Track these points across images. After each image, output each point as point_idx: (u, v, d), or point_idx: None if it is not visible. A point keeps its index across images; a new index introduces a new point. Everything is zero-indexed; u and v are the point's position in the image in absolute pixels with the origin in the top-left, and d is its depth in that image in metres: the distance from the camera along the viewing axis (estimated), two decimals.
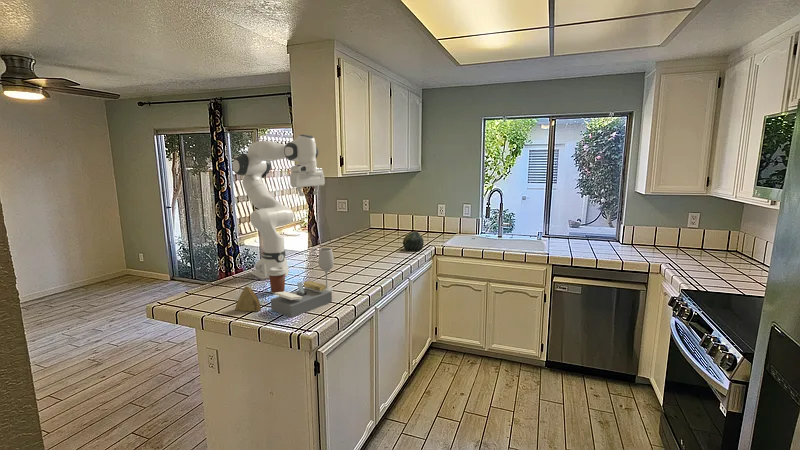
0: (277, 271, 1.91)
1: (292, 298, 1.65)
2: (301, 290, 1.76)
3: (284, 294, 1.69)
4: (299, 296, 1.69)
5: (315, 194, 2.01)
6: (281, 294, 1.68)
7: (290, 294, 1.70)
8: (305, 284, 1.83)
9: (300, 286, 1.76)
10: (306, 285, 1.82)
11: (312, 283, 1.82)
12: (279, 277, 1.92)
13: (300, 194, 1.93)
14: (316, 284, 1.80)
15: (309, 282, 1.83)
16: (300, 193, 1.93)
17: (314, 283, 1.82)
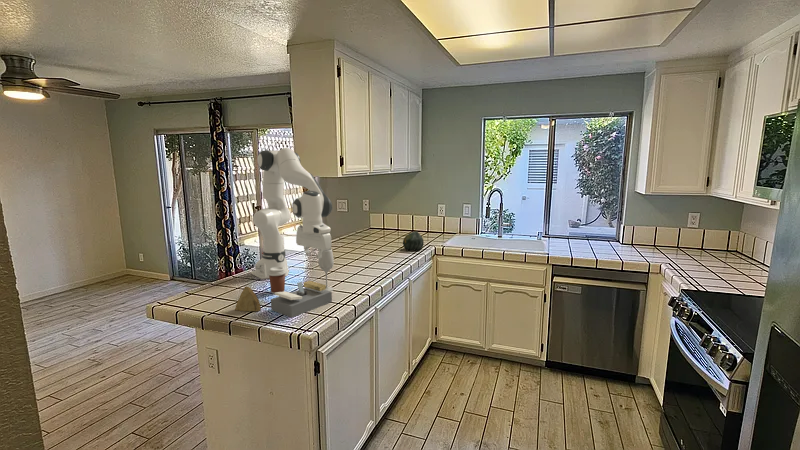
0: (277, 271, 1.91)
1: (292, 298, 1.65)
2: (301, 290, 1.76)
3: (284, 294, 1.69)
4: (299, 296, 1.69)
5: (310, 255, 1.82)
6: (281, 294, 1.68)
7: (290, 294, 1.70)
8: (305, 284, 1.83)
9: (300, 286, 1.76)
10: (306, 285, 1.82)
11: (312, 283, 1.82)
12: (279, 277, 1.92)
13: (320, 256, 1.77)
14: (316, 284, 1.80)
15: (309, 282, 1.83)
16: (320, 255, 1.77)
17: (314, 283, 1.82)
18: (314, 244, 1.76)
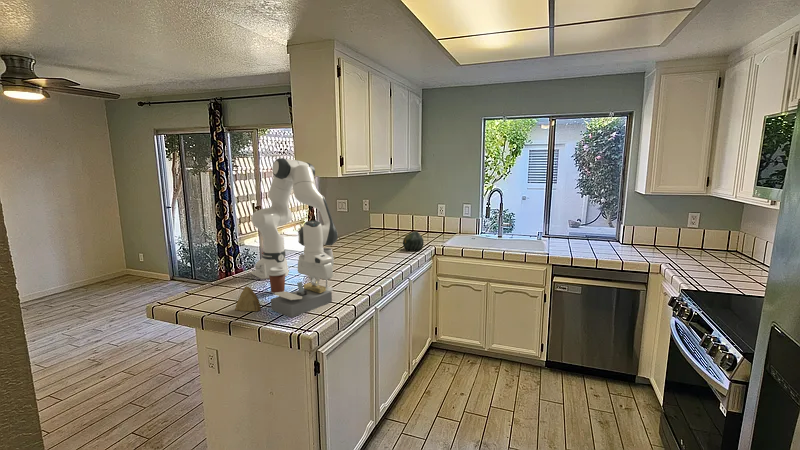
0: (277, 271, 1.91)
1: (292, 298, 1.65)
2: (301, 290, 1.76)
3: (284, 294, 1.69)
4: (299, 296, 1.69)
5: None
6: (281, 294, 1.68)
7: (290, 294, 1.70)
8: (305, 286, 1.83)
9: (300, 286, 1.76)
10: (306, 287, 1.83)
11: (312, 285, 1.82)
12: (279, 277, 1.92)
13: (317, 284, 1.81)
14: (316, 286, 1.80)
15: (309, 284, 1.84)
16: (317, 283, 1.81)
17: None
18: (315, 273, 1.78)
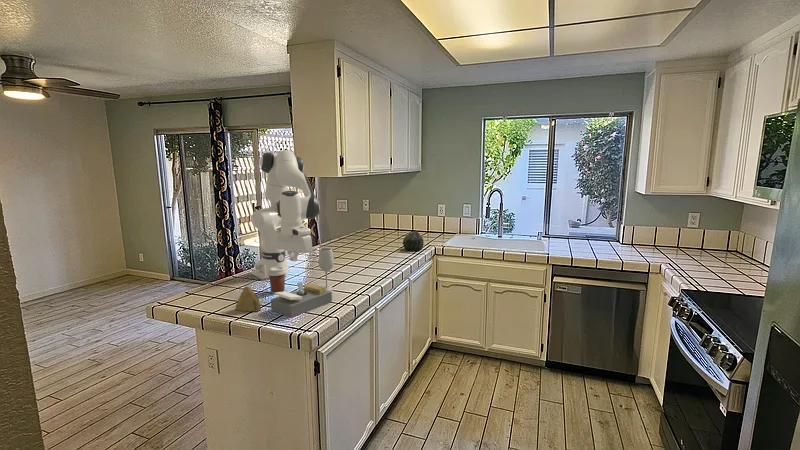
0: (277, 271, 1.91)
1: (292, 298, 1.65)
2: (301, 290, 1.76)
3: (284, 294, 1.69)
4: (299, 296, 1.69)
5: None
6: (281, 294, 1.68)
7: (290, 294, 1.70)
8: (305, 287, 1.83)
9: (300, 286, 1.76)
10: (306, 288, 1.83)
11: (312, 286, 1.82)
12: (279, 277, 1.92)
13: (295, 259, 1.68)
14: (316, 287, 1.81)
15: (309, 285, 1.84)
16: (296, 258, 1.68)
17: (314, 286, 1.82)
18: (293, 247, 1.65)
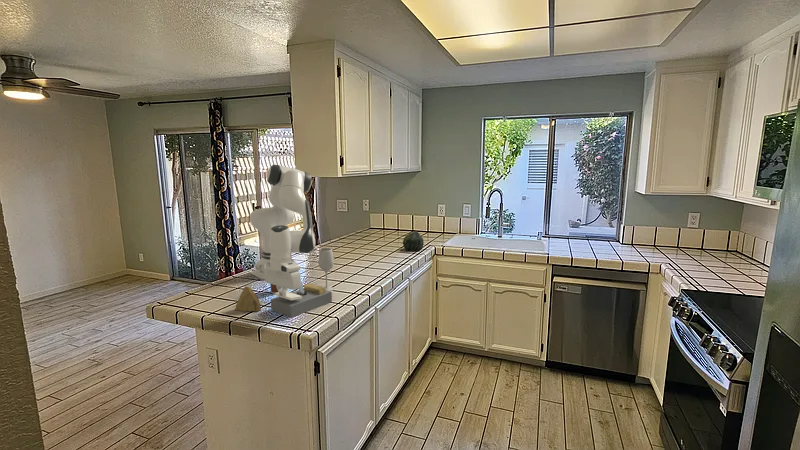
0: None
1: (292, 298, 1.65)
2: (301, 290, 1.76)
3: None
4: (299, 296, 1.69)
5: None
6: None
7: (290, 294, 1.70)
8: (305, 287, 1.83)
9: (300, 286, 1.76)
10: (306, 288, 1.83)
11: (312, 286, 1.82)
12: None
13: (284, 294, 1.66)
14: (316, 287, 1.81)
15: (309, 285, 1.84)
16: (285, 293, 1.66)
17: (314, 286, 1.82)
18: (282, 282, 1.63)
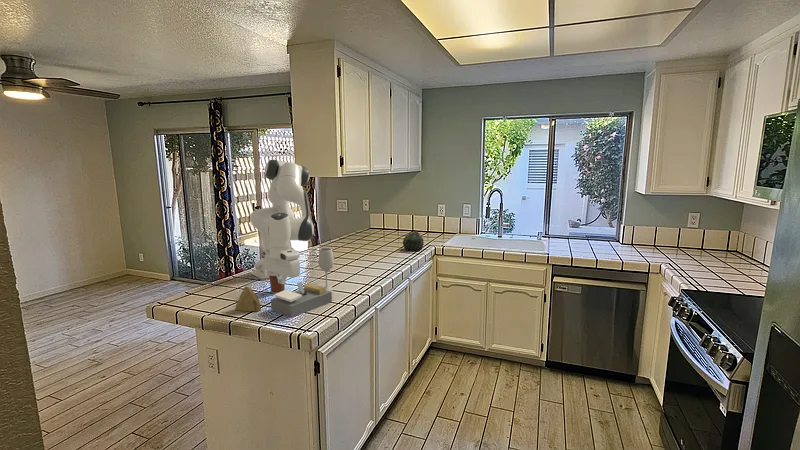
0: None
1: (292, 300, 1.65)
2: (301, 290, 1.76)
3: (283, 295, 1.69)
4: (298, 295, 1.68)
5: None
6: (280, 296, 1.68)
7: (289, 294, 1.70)
8: (305, 287, 1.83)
9: (300, 286, 1.76)
10: (306, 288, 1.83)
11: (312, 286, 1.82)
12: None
13: (284, 282, 1.66)
14: (316, 287, 1.81)
15: (309, 285, 1.84)
16: (284, 281, 1.66)
17: (314, 286, 1.82)
18: (281, 270, 1.63)
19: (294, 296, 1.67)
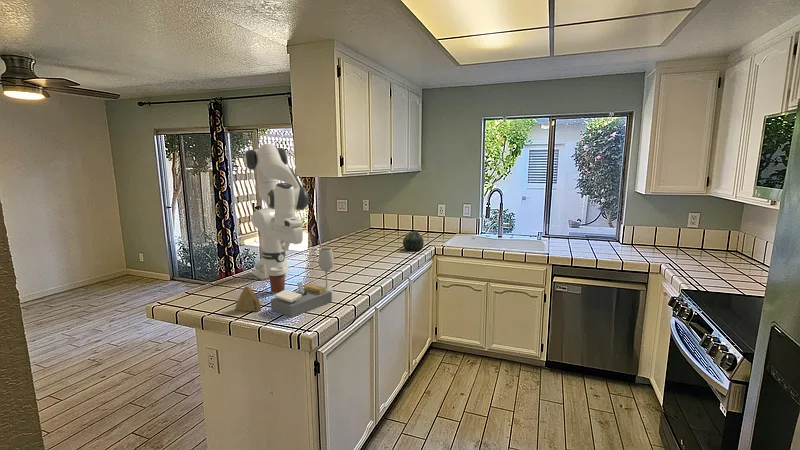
0: (277, 271, 1.91)
1: (292, 300, 1.65)
2: (301, 290, 1.76)
3: (283, 296, 1.69)
4: (298, 295, 1.68)
5: None
6: (280, 297, 1.68)
7: (289, 294, 1.70)
8: (305, 287, 1.83)
9: (300, 286, 1.76)
10: (306, 288, 1.83)
11: (312, 286, 1.82)
12: (279, 277, 1.92)
13: (287, 248, 1.76)
14: (316, 287, 1.81)
15: (309, 285, 1.84)
16: (287, 247, 1.76)
17: (314, 286, 1.82)
18: (285, 237, 1.73)
19: (294, 296, 1.67)
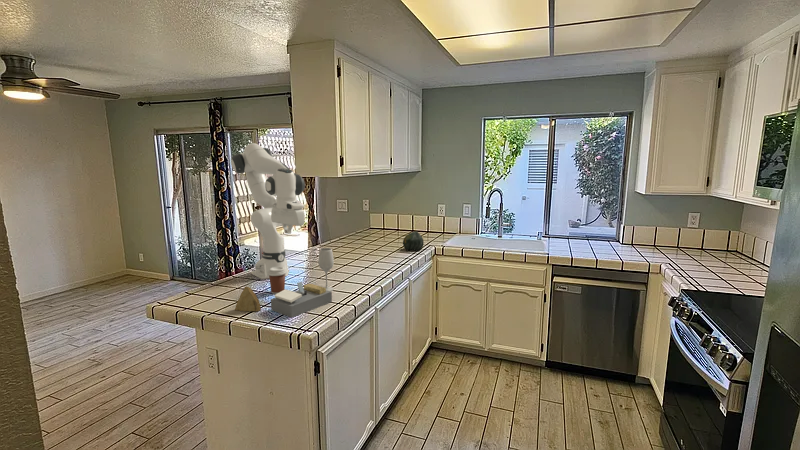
0: (277, 271, 1.91)
1: (292, 300, 1.65)
2: (301, 290, 1.76)
3: (283, 296, 1.69)
4: (298, 295, 1.68)
5: None
6: (280, 297, 1.68)
7: (289, 294, 1.70)
8: (305, 287, 1.83)
9: (300, 286, 1.76)
10: (306, 288, 1.83)
11: (312, 286, 1.82)
12: (279, 277, 1.92)
13: (290, 231, 1.83)
14: (316, 287, 1.81)
15: (309, 285, 1.84)
16: (290, 230, 1.83)
17: (314, 286, 1.82)
18: (287, 220, 1.80)
19: (294, 296, 1.67)
